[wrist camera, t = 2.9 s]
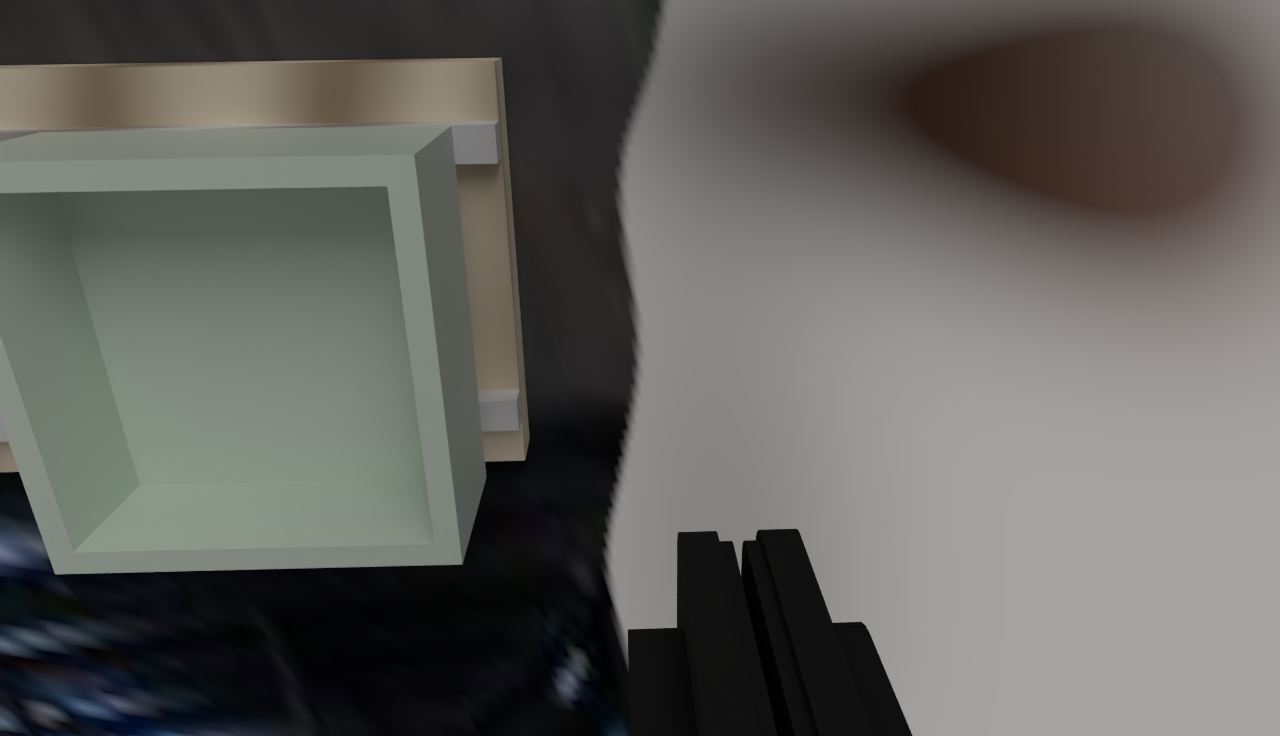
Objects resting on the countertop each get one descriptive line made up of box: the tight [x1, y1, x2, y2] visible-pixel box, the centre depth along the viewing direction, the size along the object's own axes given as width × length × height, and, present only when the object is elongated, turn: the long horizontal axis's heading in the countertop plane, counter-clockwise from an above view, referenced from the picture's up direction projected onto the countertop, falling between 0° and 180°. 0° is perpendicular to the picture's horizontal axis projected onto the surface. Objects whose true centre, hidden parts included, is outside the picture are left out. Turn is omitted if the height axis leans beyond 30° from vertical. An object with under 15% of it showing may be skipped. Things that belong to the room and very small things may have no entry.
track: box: [0, 58, 530, 472], centre depth 25 cm, size 22×12×2 cm, turn 91°
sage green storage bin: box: [0, 125, 486, 574], centre depth 21 cm, size 10×10×6 cm
